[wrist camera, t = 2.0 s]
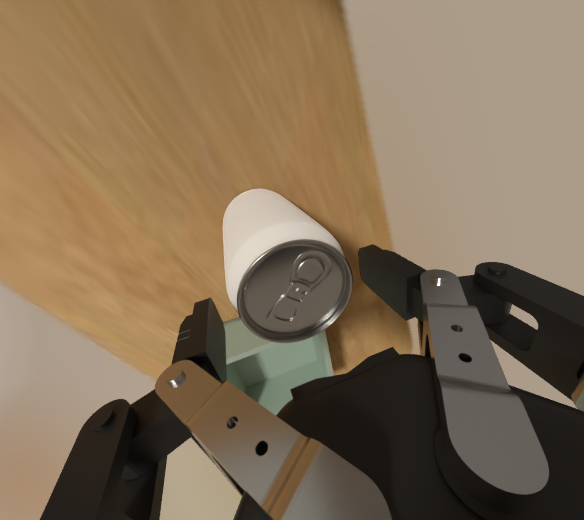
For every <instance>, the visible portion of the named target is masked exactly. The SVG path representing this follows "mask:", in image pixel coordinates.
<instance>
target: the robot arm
mask: <svg viewBox="0 0 584 520" xmlns="http://www.w3.org/2000/svg"><path fill="white" fill-rule="evenodd" d="M358 256H359V267H360V275H361V278H362V280H363V282H364V283H365V284H366V285H367V286H368V287H369V288H370V289H371V290H372V291H373V292H375V293H376V294H377V295H378V296H379V297H380V298H381V299H382V300H383V301H385V302H386V303H387V304H388V305H389V306H390V307H391V308H392V309H393V310H395V311H396V312H397V313H398V314H399V315H400V316H401V317H402V318H404V319H405V320H409V319H411V318H414V317H416V318H417V319H418V333H419V343H420V353H421V355H415V354H401V355H399V354H398V353H397V352H396V350H395V349H394V348H393V347H391V348H389V349H387V350H384V351H382V352H379V353H377V354H374V355H372V356H370V357H368V358H367V359H365V360H364V361H363V362H361V363H360V364H359V365H358V366H356V367H355V368H354V369H352V370H351V371H350V372H348V373H346V374H342V375H335V376H329V377H322V378H316V379H314V380H311V381H309V382H307V383H304V384H302V385H299V386H297V387H295V388H292V389H290V391H291V394H292V397H293V399H292V400H290V401H289V402H288V403H287V404H286V405H285V406H284V407H283V408H282V409H281V410H280V411H279V412H278V414H277V415H274V414H273V413H271V412H270V411H269V410H267V409H266V408H265V407H263V406H262V405H260V404H259V403H258V402H256V401H255V400H253V399H252V398H251V397H249V396H248V395H247V394H245V393H244V392H242V391H241V390H240V389H238V388H237V387H235V386H234V385H233V384H231V383H230V382H228V381H227V370H226V336H225V328H224V325H223V322H222V320H221V317H220V315H219V313H218V311H217V309H216V307H215V304H214V302H213V300H212V299H211V298H208V299H205V300H202V301H199V302H196V303H195V304H194V310H193V314H192V315H189V316H187V317H186V318H185V319H184V321H183V322H182V324H181V325H180V330H179V335H178V338H177V343H176V347H175V351H174V356H173V360H172V364H171V366H169V367H168V368H167V369H166V370H165V371H164V372H163V373H162V374H161V375H160V376H159V378H158V380H157V382H156V384H155V389H154V390H153V391H151V392H150V393H148V394H147V395H145V396H144V397H142V398H141V399H139V400H137V401H136V402H134V403H133V404H131V405H130V404H129V403H128V402H127V401H126V400H124V399H118V400H114V401H111V402H109V403H107V404H106V405H104V406H102V407H101V408H100V409H98V410H97V411H96V412H95V413H94V414H93V415H92V416H91V417H90V418H89V419H88V420H87V421H86V423H85V424H84V425H83V427H82V429H81V430H80V432H79V435H78V437H77V439H76V441H75V444H74V446H73V448H72V450H71V452H70V454H69V457H68V459H67V461H66V463H65V465H64V468H63V470H62V472H61V474H60V477H59V479H58V481H57V483H56V485H55V487H54V490H53V492H52V494H51V496H50V499H49V501H48V503H47V505H46V507H45V510H44V512H43V514H42V516H41V518H40V520H159V517H160V510H161V501H162V494H163V486H164V478H165V470H166V460H167V455H168V454H169V453H171V452H172V451H173V450H175V449H176V448H177V447H179V446H180V445H181V444H182V443H184V442H185V441H186V440H187V439H189V438H190V437H191V438H192V439H193V440H194V442H195V443H196V444H197V445H198V446H199V447H200V448H201V450H202V451H203V452H204V453H205V454H206V455H207V456H208V457H209V459H210V460H211V461H212V462H213V463H214V464H215V465H216V467H217V468H218V469H219V470H220V471H221V472H222V474H223V475H224V476H225V477H226V478H227V480H228V481H229V482H230V483H231V484H232V486H233V487H234V488H235V489H236V490H237V491H238V492H239V494H240V495H241V496H242V498H241V501H240V504H239V506H238V509H237V511H236V514H235V517H234V519H233V520H584V296H582V295H579V294H577V293H575V292H573V291H570V290H568V289H565V288H563V287H561V286H558V285H556V284H554V283H551V282H549V281H546V280H544V279H541V278H539V277H537V276H534V275H532V274H530V273H527V272H525V271H523V270H520V269H518V268H515V267H513V266H511V265H508V264H504V263H498V262H486V263H481V264H479V265H477V266H476V268H475V274H474V275H470V276H461V277H457V276H456V275H455V274H453V273H451V272H449V271H445V270H428V271H427V270H425V269H423V268H422V267H420V266H418V265H416V264H414V263H413V262H411V261H408V260H407V259H406V258H404V257H401V256H400V255H398V254H397V253H395V252H392V251H388V250H382V249H380V248H379V247H377V246H375V245H373V244H372V245H369V246H366V247H363V248H360V249H359V251H358ZM512 304H513V305H515V306H517V307H519V308H520V309H522V310H524V311H526V312H527V313H529V314H531V315H532V316H533V317H534V318H535V319H536V320H537V322H538V330H536V329H534V328H533V327H531V326H529V325H528V324H526V323H524V322H523V321H521V320H519V319H518V318H516V317H514V316H513V315H511V314H509V313H510V309H511V306H512ZM490 340H492V341H493V342H494V343H495V344H497V345H498V346H499V347H501V348H502V349H503V350H505V351H506V352H508V353H509V354H510V355H512V356H513V357H514V358H516V359H517V360H518V361H520V362H521V363H523V364H524V365H525V366H526V367H528V368H529V369H530V370H532V371H533V372H534V373H536V374H537V375H538V376H540V377H541V378H543V379H544V380H545V381H547V382H548V383H549V384H551V385H552V386H553V387H554V388H556V389H557V390H558V391H560V392H561V393H563V394H564V395H565V396H567V397H568V398H569V399H571V400H572V401H573V402H574V404H575V406H576V407H577V408H578V409H579V410H578V409H576V408H572V407H570V406H567V405H564V404H561V403H558V402H556V401H553V400H550V399H547V398H544V397H541V396H539V395H535V394H533V393H530V392H527V391H524V390H522V389H519V388H516V387H513V386H510V385H508V383H507V380H506V378H505V375H504V373H503V371H502V368H501V366H500V363H499V361H498V358H497V356H496V353H495V351H494V348H493V346H492V343H491V341H490Z"/></svg>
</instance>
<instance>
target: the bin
mask: <svg viewBox="0 0 584 520" xmlns="http://www.w3.org/2000/svg"><path fill="white" fill-rule="evenodd" d="M223 325H224V328H225V336H226V370H227V381H228V382H230V383H231V384H233V385H234V386H235V387H237V388H238V389H240V390H241V391H242V392H244V393H245V394H247V395H248V396H249V397H251V398H252V399H253V400H255V401H256V402H258V403H259V404H260V405H262V406H263V407H265V408H266V409H267V410H269V411H270V412H271V413H273V414H274V415H277V414H278V412H279V411H280V410H281V409H282V408H283V407H284V406H285V405H286V404H287V403H288V402H289V401H290V400H292V399H293V397H292V394H291V391H290V389H292V388H295V387H297V386H299V385H302V384H304V383H307V382H309V381H311V380H314V379H316V378H322V377H329V376H334V374H333V369H332V364H331V358H330V353H329V348H328V342H327V337H326V332H325V330H324V331H323V332H321V333H319V334H318V335H316V336H314V337H311V338H309V339H306V340H303V341H299V342H294V343H275V342H270V341H267V340H264V339H261V338H259V337H257V336H256V335H254V334H253V333H252V332H250V331H249V330H248V329H247V327H246V326H245V325H244V324H243V322H242V320H241V318H240V317H238V318H235V319H232V320H230V321H227V322H224V323H223Z"/></svg>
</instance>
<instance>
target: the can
mask: <svg viewBox="0 0 584 520" xmlns="http://www.w3.org/2000/svg"><path fill="white" fill-rule="evenodd" d="M223 245H224V264H225V279H226V288H227V292H228V296H229V299H230V301H231V304H232V305H233V307H234V309H235V310H236V311H237V313H238V314H239V316H240V318H241V320H242V322H243V324H244V325H245V326H246V327H247V329H248V330H249V331H250V332H252V333H253V334H254V335H256V336H257V337H259V338H261V339H264V340H267V341H270V342H275V343H294V342H299V341H303V340H306V339H309V338H311V337H314V336H316V335H318V334H319V333H321V332H323V331H324V330H326V329H327V328H328V327H329V326H331V325H332V324H333V323H334V322H335V321H336V320H337V319H338V318H339V316H340V315H341V314H342V312H343V311H344V309H345V308H346V306H347V304H348V302H349V299H350V296H351V292H352V286H353V278H352V272H351V268H350V266H349V264H348V262H347V260H346V258H345V257H344V254H343V251H342V249H341V247H340V245H339V243H338V242H337V240H336V239H335V238H334V237H333V236H332V235H331V234H330V233H329V232H328V231H327V230H326V229H325V228H324V227H322V226H321V225H320V224H319V223H317V222H316V221H315V220H313V219H312V218H311V217H310V216H308V215H307V214H306V213H304V212H303V211H302V210H300V209H299V208H298V207H296V206H295V205H294V204H292V203H291V202H290V201H288V200H287V199H285V198H284V197H283V196H281V195H279V194H278V193H275V192H273V191H270V190H266V189H252V190H248V191H246V192H243V193H241V194H240V195H238V196H237V197H236V198H235V199H233V200H232V202H231V203H230V204H229V206H228V207H227V209H226V212H225V214H224V218H223Z"/></svg>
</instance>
